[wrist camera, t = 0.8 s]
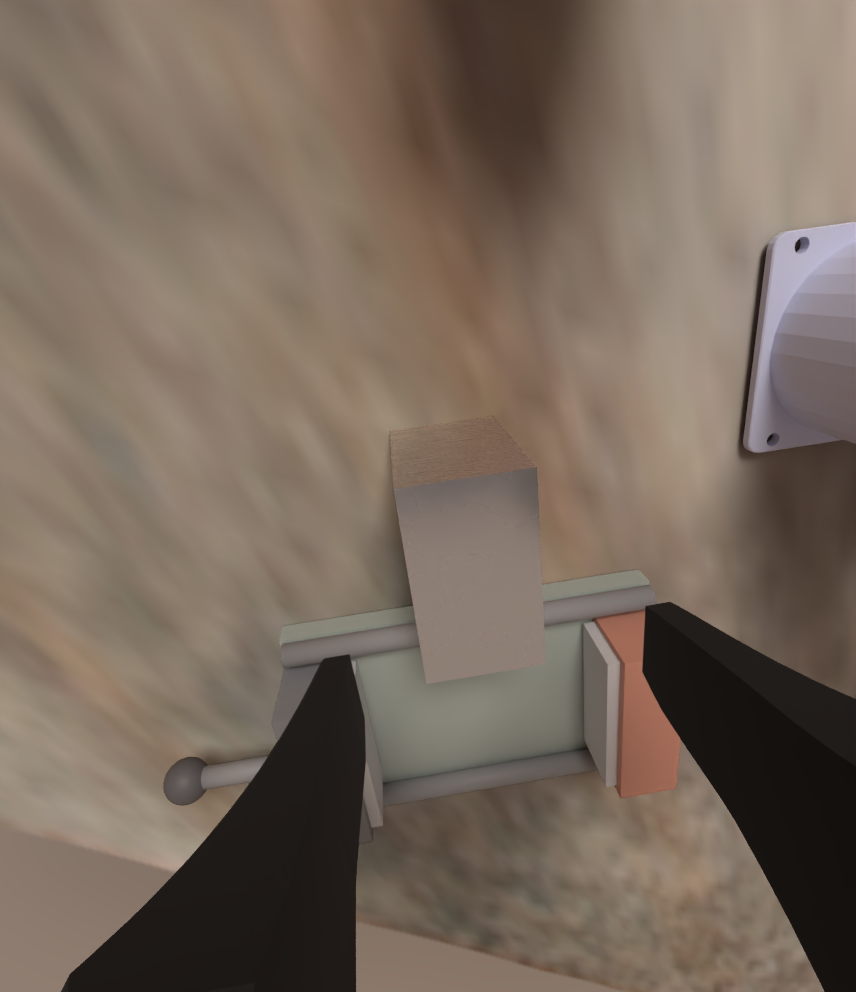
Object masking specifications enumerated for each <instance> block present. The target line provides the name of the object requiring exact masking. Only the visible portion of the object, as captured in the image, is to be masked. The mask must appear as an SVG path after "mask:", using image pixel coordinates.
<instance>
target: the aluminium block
mask: <svg viewBox="0 0 856 992" xmlns="http://www.w3.org/2000/svg"><path fill="white" fill-rule="evenodd" d="M390 443H391V459H392V474H393V489H394V495H395V501H396V507H397V513H398V519H399V525H400V531H401V537H402V543H403V549H404V554H405V560H406V566H407V572H408V578H409V584H410V590H411V596H412V602H413V608H414V614H415V620H416V625H417V631H418V637H419V643H420V649H421V655H422V661H423V667H424V673H425V679H426V684H430V683H437V682H443V681H449V680H455V679H461V678H467V677H473V676H479V675H485V674H491V673H497V672H503V671H510V670H516V669H522V668H528V667H534V666H540V665H546V655H545V633H544V612H543V590H542V568H541V547H540V525H539V504H538V482H537V467H536V466H535V465H534V463H533V462H532V461H531V460H530V459H529V457H528V456H527V455H526V454H525V453H524V452H523V450H522V449H521V448H520V447H519V446H518V444H517V443H516V442H515V441H514V440H513V438H512V437H511V436H510V435H509V434H508V433H507V431H506V430H505V429H504V428H503V427H502V425H501V424H500V423H499V422H498V421H497V420H496V418H495V417H494V416H493V415H492V416H486V417H479V418H472V419H466V420H459V421H452V422H446V423H439V424H432V425H426V426H419V427H412V428H405V429H399V430H392V431H390Z"/></svg>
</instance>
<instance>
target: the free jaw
mask: <svg viewBox="0 0 856 992" xmlns="http://www.w3.org/2000/svg"><path fill="white" fill-rule="evenodd" d="M644 626H645V610H640V611H634V612H628V613H622V614H616V615H610V616H604V617H597V618H594V622H590V623H584V624H583V658H584V740H585V742H586V744H587V746H588V749H589V751H590V753H591V755H592V758H593V760H594V762H595V764H596V766H597V769H598V771H599V773H600V775H601V778H602V780H603V782H604V784H605V787H611V786H615V787H616V790H617V792H618V794H619V796H620V798H625V797H631V796H637V795H643V794H648V793H654V792H660V791H666V790H671V789H676V782H677V772H678V762H679V751H680V741H681V739H680V737H679V736H678V734H677V733H676V731H675V730H674V728H673V727H672V725H671V724H670V722H669V721H668V719H667V718H666V716H665V715H664V713H663V712H662V710H661V708H660V706H659V704H658V702H657V700H656V698H655V697H654V695H653V693H652V691H651V689H650V687H649V685H648V683H647V681H646V679H645V677H644V674H643V672H642V665H643V646H644Z"/></svg>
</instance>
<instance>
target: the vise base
mask: <svg viewBox="0 0 856 992" xmlns="http://www.w3.org/2000/svg"><path fill="white" fill-rule="evenodd" d="M542 590H543V612H544V633H545V655H546V665H540V666H534V667H528V668H522V669H516V670H510V671H503V672H497V673H491V674H485V675H479V676H473V677H467V678H461V679H455V680H449V681H443V682H437V683H430V684H426V679H425V673H424V667H423V661H422V655H421V649H420V643H419V637H418V631H417V625H416V620H415V614H414V608H413V606H407V607H401V608H395V609H388V610H382V611H376V612H370V613H363V614H357V615H351V616H345V617H338V618H332V619H326V620H320V621H314V622H307V623H301V624H295V625H289V626H283V629H282V632H281V636H280V639H279V643H280V646H281V650H280V657H281V663H282V666H283V668H285V669H284V673H283V677H282V681H281V685H280V689H279V693H278V697H277V701H276V705H275V710H274V714H273V718H272V722H271V723H272V726H273V729H274V732H275V735H276V738H277V741H278V740H279V738H280V737H281V735H282V733H283V732H284V730H285V728H286V727H287V725H288V723H289V721H290V720H291V718H292V716H293V714H294V713H295V711H296V709H297V707H298V706H299V704H300V702H301V700H302V698H303V696H304V695H305V693H306V691H307V689H308V687H309V685H310V683H311V681H312V679H313V677H314V675H315V673H316V671H317V669H318V667H319V665H320V663H321V662H322V660H323V659H324V658H329V657H335V656H342V655H348V654H350V658H351V662H352V667H353V671H354V675H355V679H356V683H357V687H358V692H359V696H360V700H361V704H362V708H363V712H364V717H365V740H366V765H365V778H364V790H363V801H362V813H361V824H360V835H359V844H362V843H367V842H373V828H374V827H380V826H383V807H386V806H392V805H397V804H403V803H409V802H415V801H421V800H426V799H432V798H438V797H444V796H450V795H455V794H461V793H467V792H473V791H479V790H484V789H490V788H496V787H502V786H508V785H513V784H519V783H525V782H531V781H537V780H542V779H548V778H554V777H560V776H566V775H571V774H577V773H583V772H589V771H595V770H598V769H597V766H596V764H595V762H594V760H593V758H592V755H591V753H590V751H589V749H588V746H587V744H586V742H585V740H584V658H583V624H584V623H590V622H594V618H597V617H604V616H610V615H616V614H622V613H628V612H634V611H640V610H645V606H648V605H655V604H656V597H655V594H654V591H653V589H652V588H651V586H650V585H649V580H648V579H647V578H646V577H645V576H644V575H643V574H642V573H641V571H640V570H639V569H638V570H631V571H625V572H619V573H613V574H606V575H600V576H594V577H588V578H581V579H575V580H569V581H563V582H557V583H550V584H544V585H542ZM267 757H268V755H267V756H261V757H255V758H249V759H243V760H237V761H231V762H225V763H219V764H213V765H207V764H206V763H205V762H204V761H203V760H202V759H200V758H197V757H186V758H183V759H181V760H179V761H177V762H176V763H175V764H174V765H173V766H172V767H171V768H170V769H169V771H168V772H167V774H166V776H165V779H164V793H165V796H166V797H167V799H168V800H169V801H170V802H172V803H173V804H176V805H189V804H191V803H194V802H195V801H197V800H198V799H200V798H201V797H202V796H203V794H204V793H205V792H206V790H207V789H212V788H218V787H224V786H230V785H235V784H241V783H247V782H251V781H252V779H253V778H254V776H255V775H256V774H257V772H258V771H259V769H260V768H261V766H262V765H263V763H264V762H265V760H266V758H267Z"/></svg>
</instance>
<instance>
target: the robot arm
mask: <svg viewBox="0 0 856 992" xmlns="http://www.w3.org/2000/svg"><path fill="white" fill-rule="evenodd" d="M798 239H799V240H800V241H801V246H800V249H799V250H798V251H797V252H796V251H795V244H796V242H797V240H798ZM771 434H772V435H773V436H772V439H771V440H770V441H769V442H767V439H768V437H769V436H770V435H771ZM840 440H846V441H848V442H851V443H854V444H856V222H850V223H843V224H836V225H829V226H822V227H815V228H807V229H800V230H793V231H786V232H781V233H779V234H777V235H775V236H774V237H773V238H772V239H771V241H770V242H769V244H768V247H767V252H766V260H765V268H764V276H763V284H762V292H761V301H760V309H759V317H758V325H757V333H756V341H755V349H754V357H753V365H752V373H751V381H750V389H749V397H748V405H747V414H746V422H745V430H744V438H743V445H744V447H745V449H747V450H749V451H751V452H753V453H762V452H769V451H775V450H782V449H788V448H795V447H801V446H807V445H814V444H820V443H827V442H833V441H840ZM642 672H643V674H644V677H645V679H646V681H647V683H648V685H649V687H650V689H651V691H652V693H653V695H654V697H655V698H656V700H657V702H658V704H659V706H660V708H661V710H662V712H663V713H664V715H665V716H666V718H667V719H668V721H669V722H670V724H671V725H672V727H673V728H674V730H675V731H676V733H677V734H678V736H679V737H680V739H681V740H682V742H683V743H684V745H685V746H686V748H687V749H688V751H689V752H690V753H691V755H692V756H693V758H694V759H695V761H696V762H697V764H698V765H699V767H700V768H701V770H702V771H703V773H704V774H705V776H706V777H707V778H708V780H709V781H710V783H711V784H712V786H713V787H714V789H715V790H716V792H717V793H718V795H719V796H720V798H721V799H722V801H723V802H724V804H725V805H726V807H727V809H728V810H729V812H730V813H731V815H732V817H733V818H734V820H735V821H736V823H737V825H738V827H739V829H740V830H741V832H742V834H743V836H744V838H745V839H746V841H747V843H748V845H749V847H750V848H751V850H752V852H753V854H754V856H755V857H756V859H757V861H758V863H759V865H760V866H761V868H762V870H763V872H764V874H765V876H766V878H767V879H768V881H769V883H770V885H771V887H772V889H773V891H774V893H775V895H776V896H777V898H778V900H779V902H780V904H781V906H782V908H783V910H784V912H785V913H786V915H787V917H788V919H789V921H790V923H791V925H792V927H793V929H794V931H795V933H796V935H797V937H798V939H799V941H800V943H801V945H802V947H803V949H804V951H805V953H806V955H807V957H808V959H809V961H810V963H811V965H812V967H813V969H814V971H815V973H816V975H817V977H818V979H819V981H820V983H821V985H822V987H823V989H824V991H825V992H856V699H854V698H852V697H850V696H847V695H845V694H843V693H840V692H838V691H836V690H834V689H831V688H829V687H827V686H825V685H823V684H820V683H818V682H816V681H814V680H812V679H810V678H808V677H806V676H804V675H802V674H800V673H798V672H796V671H794V670H792V669H790V668H788V667H786V666H784V665H782V664H780V663H778V662H776V661H774V660H773V659H771V658H769V657H767V656H765V655H763V654H761V653H759V652H758V651H756V650H754V649H752V648H750V647H749V646H747V645H745V644H743V643H741V642H740V641H738V640H736V639H734V638H733V637H731V636H729V635H727V634H726V633H724V632H722V631H720V630H719V629H717V628H715V627H714V626H712V625H710V624H708V623H707V622H705V621H703V620H702V619H700V618H698V617H696V616H695V615H693V614H691V613H689V612H688V611H686V610H684V609H682V608H681V607H679V606H677V605H675V604H673V603H671V602H667V603H661V604H655V605H648V606H645V626H644V646H643V665H642ZM365 765H366V740H365V717H364V712H363V708H362V704H361V700H360V696H359V692H358V687H357V683H356V679H355V675H354V671H353V667H352V662H351V658H350V654H348V655H342V656H335V657H329V658H324V659H323V660H322V662H321V663H320V665H319V667H318V669H317V671H316V673H315V675H314V677H313V679H312V681H311V683H310V685H309V687H308V689H307V691H306V693H305V695H304V696H303V698H302V700H301V702H300V704H299V706H298V707H297V709H296V711H295V713H294V714H293V716H292V718H291V720H290V721H289V723H288V725H287V727H286V728H285V730H284V732H283V733H282V735H281V737H280V738H279V740H278V741H277V743H276V745H275V746H274V748H273V749H272V751H271V752H270V754H269V755H268V757H267V758H266V760H265V762H264V763H263V765H262V766H261V768H260V769H259V771H258V772H257V774H256V775H255V776H254V778H253V779H252V781H251V782H250V784H249V785H248V786H247V788H246V789H245V790H244V792H243V793H242V794H241V796H240V797H239V798H238V800H237V801H236V802H235V804H234V805H233V806H232V808H231V809H230V810H229V811H228V813H227V814H226V815H225V816H224V818H223V819H222V820H221V821H220V823H219V824H218V825H217V826H216V827H215V829H214V830H213V831H212V832H211V833H210V835H209V836H208V837H207V838H206V840H205V841H204V842H203V843H202V844H201V845H200V847H199V848H198V849H197V850H196V851H195V852H194V853H193V855H192V856H191V857H190V858H189V859H188V860H187V861H186V862H185V863H184V864H183V866H182V867H181V868H180V869H179V870H178V871H177V872H176V873H175V874H174V875H173V876H172V877H171V878H170V879H169V880H168V881H167V882H166V883H165V885H164V886H163V887H162V888H161V889H160V890H159V891H158V892H157V893H156V894H155V895H154V896H153V897H152V898H151V899H150V900H149V901H148V902H147V903H146V904H145V905H144V906H143V907H142V908H141V909H140V910H139V911H138V912H137V913H136V914H135V915H134V916H133V917H132V918H131V919H130V920H129V921H128V922H127V923H125V924H124V925H123V926H122V927H121V928H120V929H119V930H118V931H117V932H116V933H115V934H114V935H112V936H111V937H110V938H109V939H108V940H107V941H106V942H105V943H104V944H103V945H102V946H101V947H100V948H98V949H97V950H96V951H95V952H94V953H93V954H92V955H91V956H90V957H89V958H87V959H86V960H85V961H84V962H83V963H82V964H81V965H80V966H79V967H77V968H76V969H75V970H74V971H73V972H72V973H71V974H70V975H69V977H68V979H67V981H66V983H65V985H64V987H63V989H62V991H61V992H356V874H357V858H358V847H359V835H360V824H361V813H362V801H363V790H364V778H365Z"/></svg>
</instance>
